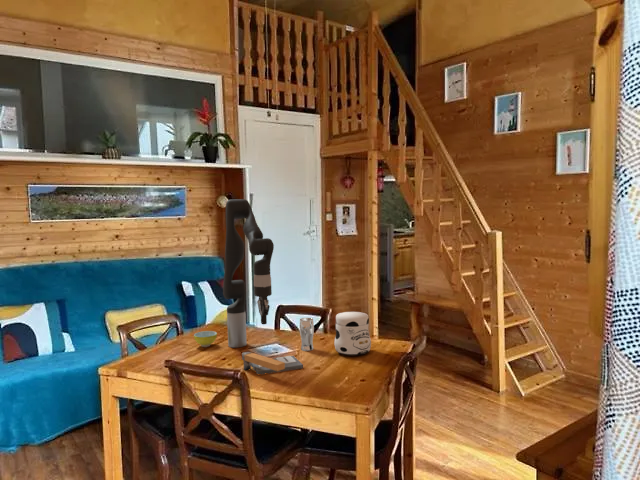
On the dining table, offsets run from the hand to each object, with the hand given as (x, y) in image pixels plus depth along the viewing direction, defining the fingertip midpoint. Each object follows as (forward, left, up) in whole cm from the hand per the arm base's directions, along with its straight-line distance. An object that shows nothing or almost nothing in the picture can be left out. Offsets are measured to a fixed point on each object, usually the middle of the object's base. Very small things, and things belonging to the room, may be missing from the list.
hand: (263, 323), depth 210 cm
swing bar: (+9, -4, -14) cm, 17 cm away
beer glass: (-16, +25, -19) cm, 35 cm away
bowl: (-44, -20, -19) cm, 52 cm away
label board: (+2, +5, -19) cm, 20 cm away
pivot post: (0, -8, -19) cm, 21 cm away
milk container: (-2, +43, -19) cm, 47 cm away
